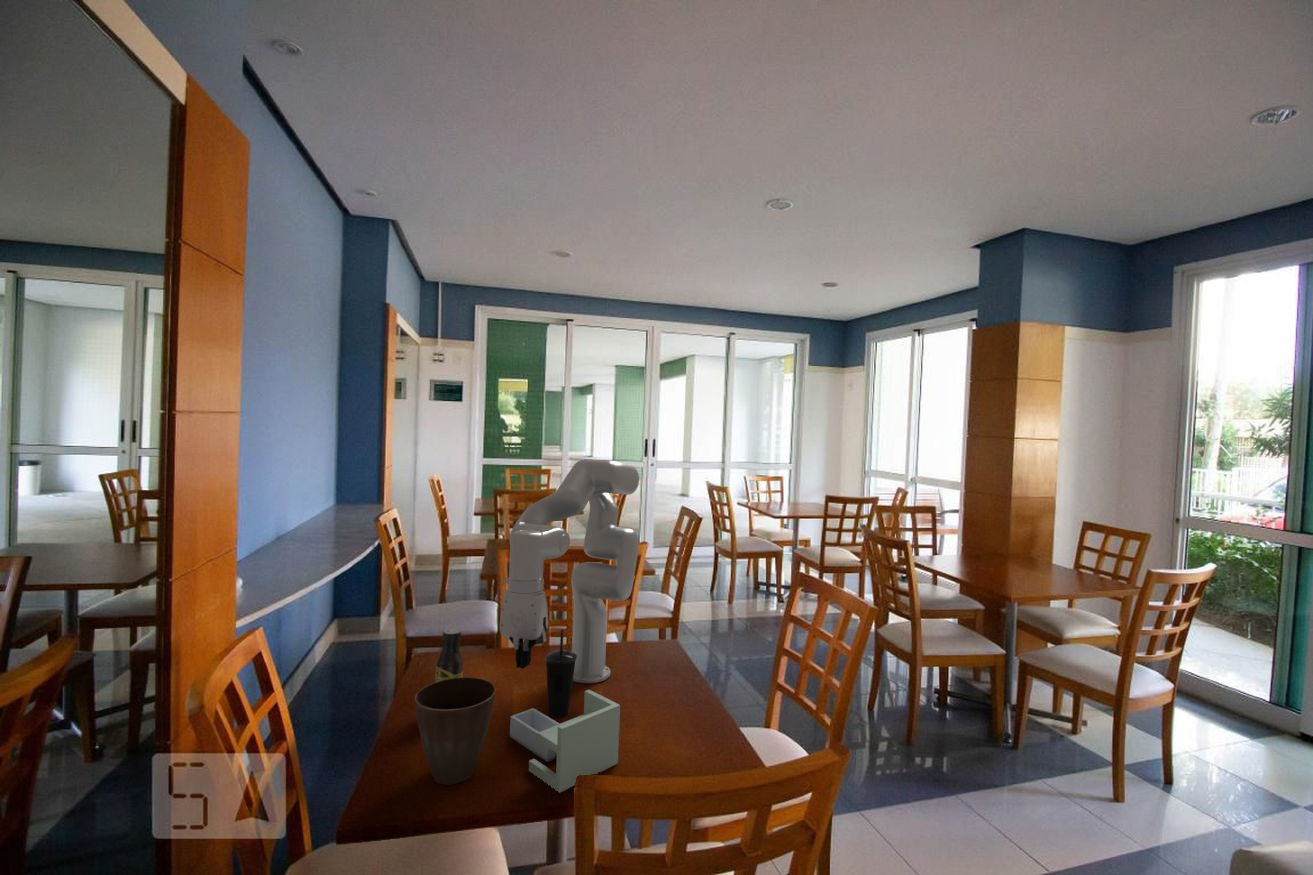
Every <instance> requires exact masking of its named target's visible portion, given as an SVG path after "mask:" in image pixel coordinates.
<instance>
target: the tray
mask: <svg viewBox="0 0 1313 875" xmlns="http://www.w3.org/2000/svg"><path fill="white" fill-rule="evenodd" d="M509 723H510V724H509V726H510V727H509V737H510V739H512V740H514V741H516V742H517V743H518V744H520V745H521V746H522V747H524V748H526V749H527V750H528V751H531V752H532V753H533V754H535V755H536V756H537V757H539V758H541V759H542V760H543V761H545V762H547V763H549V762H552V761H553V760H555V759H556V760H557V753H556V752H554V751H553V750H551V749H550V748H548V747H547V746H545V745H544V744H542V743H541V742H539V741H538V740H537V739H538V732H541V731H543V730H546V729H548V728H551V727H553V726H556V725H558V724H560V723H559V722H557V721H556V720H554V719H553V718H551V717H549V716H548V715H546V714H544V713H542V712H541V711H539V710H537V709H536V708H533V707H532V708H530V709H527V710H524V711H521V712H519V713H516V714H513V715H511V716H510V722H509Z"/></svg>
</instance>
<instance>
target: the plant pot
mask: <svg viewBox="0 0 1313 875" xmlns="http://www.w3.org/2000/svg"><path fill="white" fill-rule="evenodd" d="M496 691H497V689H496V687H495V685H494V684H493V683H492V682H490V681H489V680H486V679H483V678H477V677H469V676H468V677H466V676H465V677H462V678H451V679H446V680H441V681H438V682H435V681H434V682H432V683H430V684H427V685H425V686H423V687H422V688H421V689H420V690H419V691H417V692H416V694H415V696H414V701H415V712H416V718H417V725H418V731H419V735H420V739H421V740H420V741H421V744H422V749H423V751H424V756H425V758H426V761H427V764H428V767H429V769H430V770H429V771H430V772H431V775H432V777H433V779H434V781H435V782H436V783H438V784H442V785H448V786H449V785H455V784H460V783H462V782H465V781H467V780H468V779H470V778H471V776H473V774H474V771H475V769H476V767H477V763H478V761H479V759H480V756H481V753H482V750H483V747H484V744H485V740H486V737H487V733H488V731H489V725H490V722H491V717H492V712H493V708H494V704H495V696H496Z"/></svg>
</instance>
